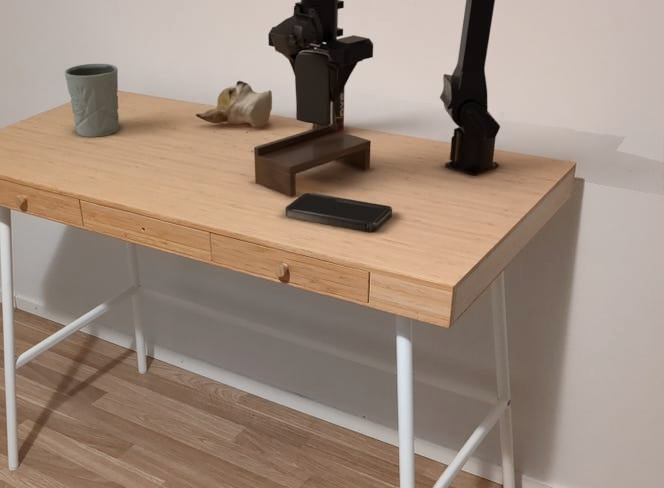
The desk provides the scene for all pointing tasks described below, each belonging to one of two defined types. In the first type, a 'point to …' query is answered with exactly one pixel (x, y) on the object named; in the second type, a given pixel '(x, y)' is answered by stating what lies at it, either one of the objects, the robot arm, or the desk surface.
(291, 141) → the shelf
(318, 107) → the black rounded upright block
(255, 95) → the ceramic sculpture
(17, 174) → the desk surface
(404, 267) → the desk surface
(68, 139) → the desk surface
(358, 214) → the phone
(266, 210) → the desk surface
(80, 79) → the green planter pot
